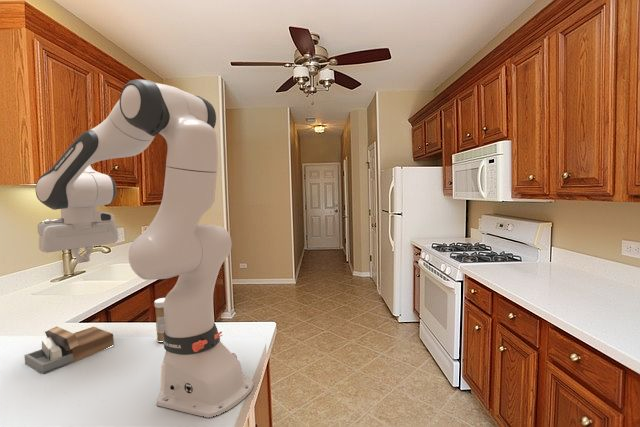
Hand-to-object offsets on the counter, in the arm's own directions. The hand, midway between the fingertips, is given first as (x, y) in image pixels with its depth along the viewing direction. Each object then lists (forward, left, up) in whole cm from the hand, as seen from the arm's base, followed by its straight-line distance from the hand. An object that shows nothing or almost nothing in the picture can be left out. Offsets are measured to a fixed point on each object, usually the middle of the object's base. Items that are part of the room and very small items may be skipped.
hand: (83, 262), depth 101 cm
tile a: (-3, +9, -24) cm, 26 cm away
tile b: (+3, +8, -24) cm, 25 cm away
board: (0, +1, -27) cm, 27 cm away
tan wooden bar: (0, +7, -23) cm, 24 cm away
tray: (0, +10, -27) cm, 29 cm away
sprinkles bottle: (-17, -14, -27) cm, 35 cm away
